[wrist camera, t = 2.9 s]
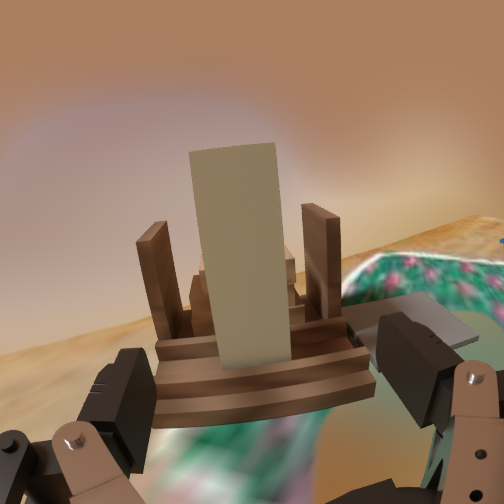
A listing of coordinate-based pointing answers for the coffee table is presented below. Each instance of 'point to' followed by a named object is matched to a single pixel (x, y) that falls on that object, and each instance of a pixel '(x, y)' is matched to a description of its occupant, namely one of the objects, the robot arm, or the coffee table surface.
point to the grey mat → (417, 309)
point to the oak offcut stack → (202, 307)
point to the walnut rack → (264, 376)
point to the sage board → (243, 252)
